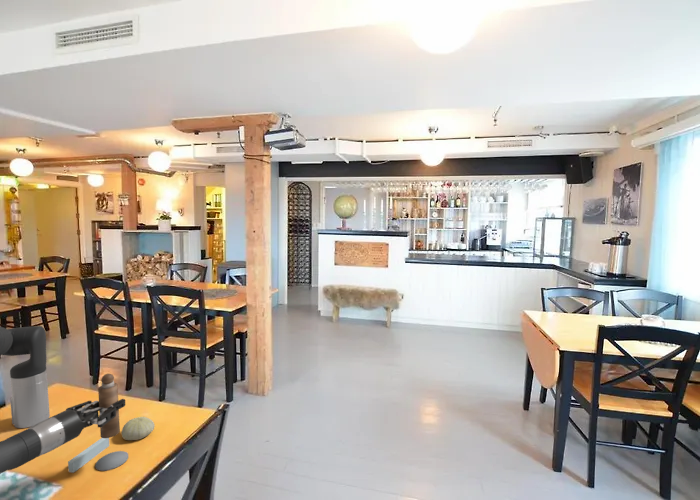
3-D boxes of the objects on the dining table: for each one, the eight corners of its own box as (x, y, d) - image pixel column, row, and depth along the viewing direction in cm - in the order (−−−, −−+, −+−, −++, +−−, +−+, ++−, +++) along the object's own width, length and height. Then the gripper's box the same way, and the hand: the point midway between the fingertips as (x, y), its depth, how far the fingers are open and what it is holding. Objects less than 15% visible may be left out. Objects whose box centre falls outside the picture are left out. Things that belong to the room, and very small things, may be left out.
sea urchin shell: (142, 439, 112) (125, 419, 113) (127, 453, 114) (111, 434, 114) (162, 422, 121) (147, 404, 122) (149, 436, 123) (134, 418, 123)
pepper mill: (96, 437, 102) (93, 376, 100) (109, 428, 106) (107, 370, 105) (110, 439, 101) (107, 378, 100) (123, 429, 105) (120, 371, 104)
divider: (68, 471, 100) (68, 461, 100) (104, 445, 112) (104, 436, 112) (73, 472, 100) (72, 462, 100) (109, 445, 112) (108, 436, 111)
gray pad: (88, 468, 101) (88, 467, 101) (111, 450, 109) (111, 449, 109) (113, 472, 100) (113, 471, 100) (134, 453, 108) (134, 452, 108)
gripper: (71, 423, 87) (135, 392, 103) (33, 412, 92) (100, 384, 108) (73, 453, 87) (136, 417, 103) (35, 440, 92) (101, 408, 108)
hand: (117, 400), depth 105 cm, fingers closed on pepper mill, 4 cm apart
